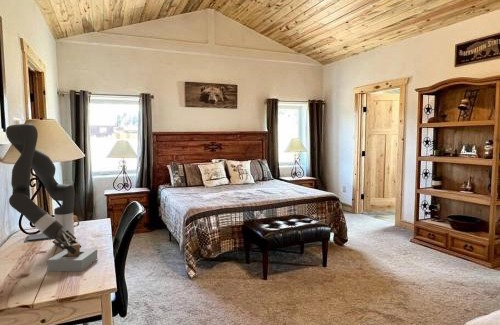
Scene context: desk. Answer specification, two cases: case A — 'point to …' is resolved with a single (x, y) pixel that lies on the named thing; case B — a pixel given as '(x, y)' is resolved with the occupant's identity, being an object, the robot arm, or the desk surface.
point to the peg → (77, 253)
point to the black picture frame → (36, 238)
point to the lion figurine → (75, 219)
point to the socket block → (72, 261)
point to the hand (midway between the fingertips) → (77, 250)
